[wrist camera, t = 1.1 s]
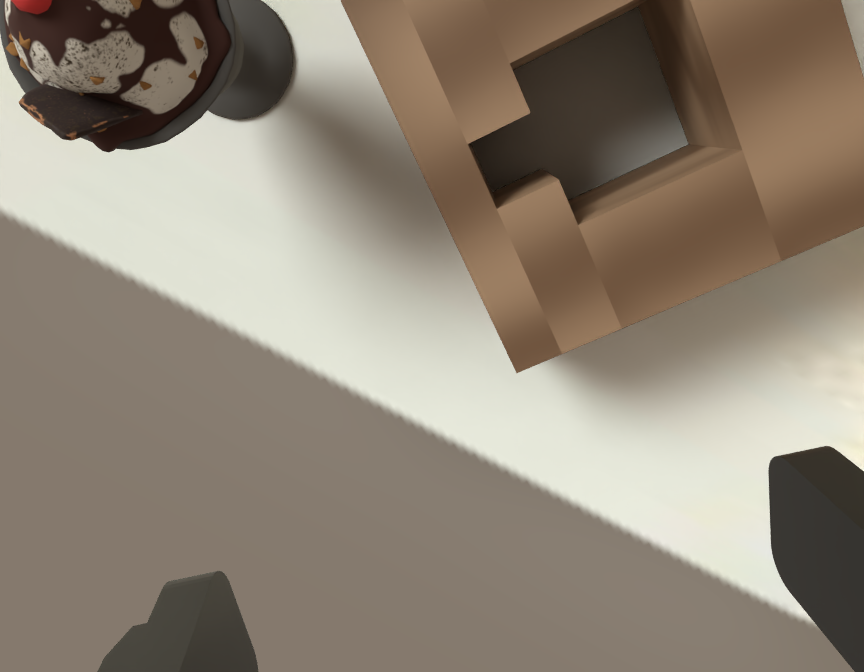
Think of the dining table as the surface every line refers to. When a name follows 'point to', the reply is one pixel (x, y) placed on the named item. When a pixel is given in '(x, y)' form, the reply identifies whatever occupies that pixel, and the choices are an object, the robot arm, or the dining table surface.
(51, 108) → the sundae
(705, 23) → the walnut socket block
